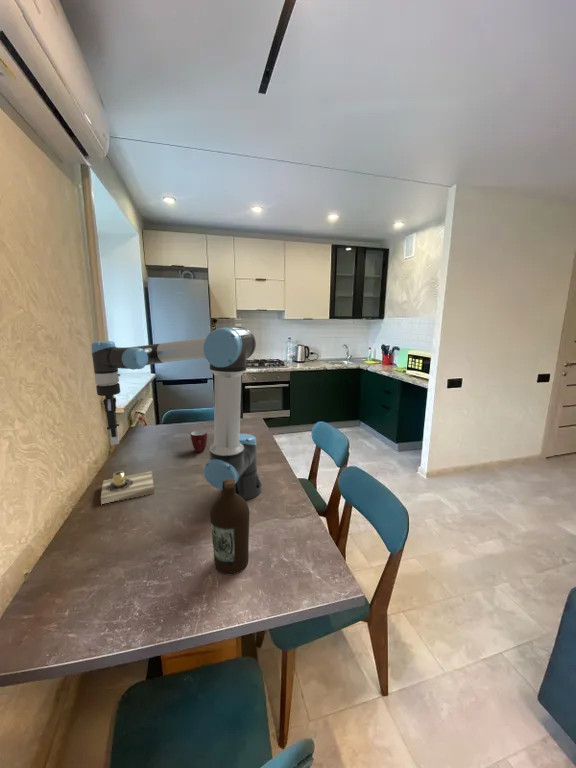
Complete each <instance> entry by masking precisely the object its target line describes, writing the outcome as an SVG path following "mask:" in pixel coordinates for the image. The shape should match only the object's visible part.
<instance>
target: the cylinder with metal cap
mask: <svg viewBox="0 0 576 768" xmlns="http://www.w3.org/2000/svg"><path fill="white" fill-rule="evenodd" d="M125 476H126V473H125V471H124V470H118V471H116V472H115V471H114V472H113V473H112V479H113V480H114V489H119V488H123V487H125V486H126V482H125Z"/></svg>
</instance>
